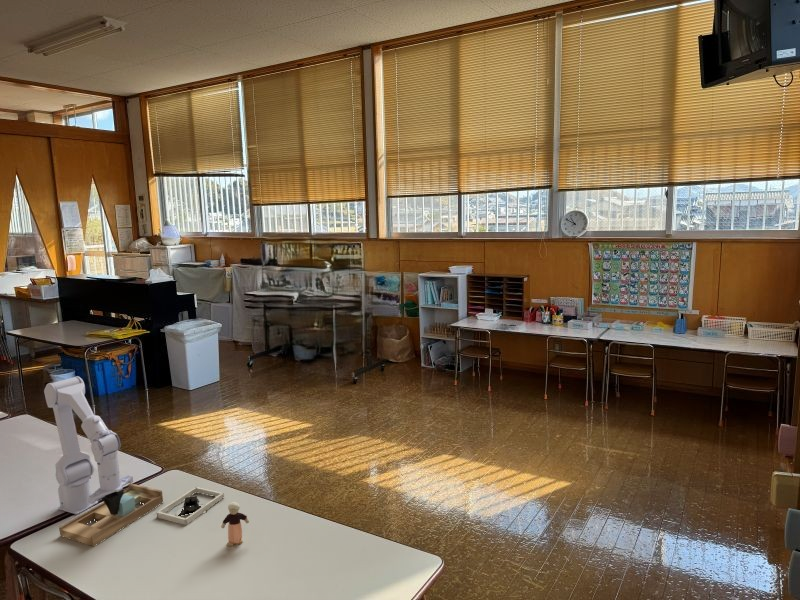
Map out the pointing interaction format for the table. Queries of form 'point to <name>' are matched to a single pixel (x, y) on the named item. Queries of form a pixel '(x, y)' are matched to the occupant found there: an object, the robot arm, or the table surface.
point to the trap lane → (110, 517)
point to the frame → (190, 518)
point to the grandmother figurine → (234, 524)
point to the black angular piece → (190, 502)
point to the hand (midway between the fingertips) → (114, 513)
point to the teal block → (126, 505)
